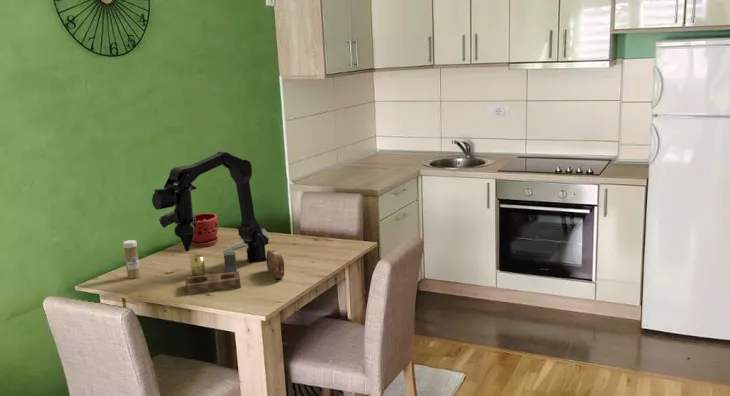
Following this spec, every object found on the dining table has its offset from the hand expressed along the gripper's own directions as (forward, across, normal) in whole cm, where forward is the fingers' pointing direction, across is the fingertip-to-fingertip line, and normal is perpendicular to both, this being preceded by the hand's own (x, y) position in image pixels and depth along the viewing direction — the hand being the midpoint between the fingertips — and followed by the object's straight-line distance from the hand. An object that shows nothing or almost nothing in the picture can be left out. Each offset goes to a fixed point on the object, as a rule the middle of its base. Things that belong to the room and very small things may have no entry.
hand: (187, 247), depth 237 cm
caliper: (+12, -38, +20) cm, 45 cm away
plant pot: (+12, -47, +3) cm, 49 cm away
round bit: (+12, -6, +2) cm, 14 cm away
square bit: (+12, -7, +14) cm, 20 cm away
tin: (+12, +3, +30) cm, 32 cm away
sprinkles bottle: (+13, -12, -21) cm, 27 cm away
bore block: (+12, +8, +8) cm, 17 cm away
